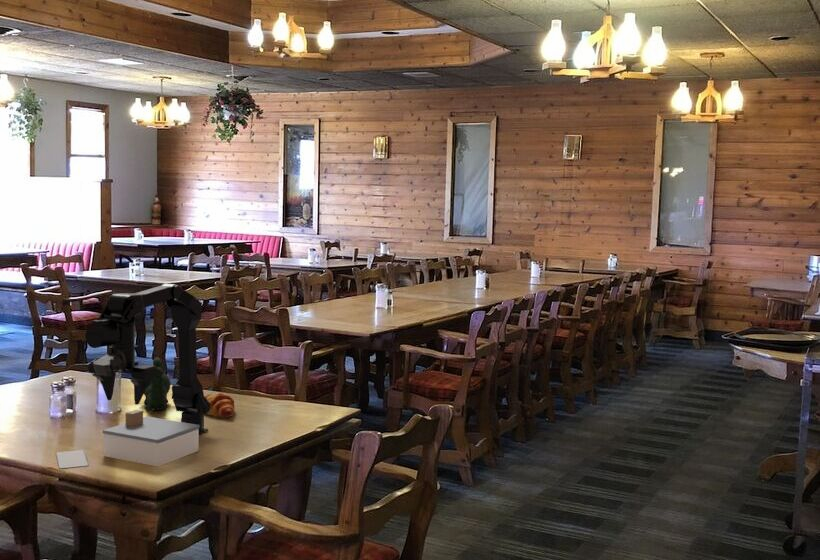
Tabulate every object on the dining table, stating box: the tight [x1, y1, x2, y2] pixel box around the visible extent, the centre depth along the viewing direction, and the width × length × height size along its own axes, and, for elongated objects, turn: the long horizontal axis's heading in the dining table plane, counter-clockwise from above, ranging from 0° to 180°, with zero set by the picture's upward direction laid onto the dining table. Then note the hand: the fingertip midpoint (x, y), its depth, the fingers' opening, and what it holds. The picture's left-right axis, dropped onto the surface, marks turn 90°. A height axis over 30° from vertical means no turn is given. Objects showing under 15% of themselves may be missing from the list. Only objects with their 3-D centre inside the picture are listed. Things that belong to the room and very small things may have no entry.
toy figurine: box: [143, 356, 171, 412], centre depth 278 cm, size 9×19×25 cm
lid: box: [102, 409, 200, 443], centre depth 228 cm, size 17×18×4 cm
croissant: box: [204, 392, 235, 418], centre depth 274 cm, size 21×10×8 cm, turn 34°
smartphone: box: [55, 449, 89, 470], centre depth 222 cm, size 7×1×15 cm
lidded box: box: [103, 429, 200, 467], centre depth 229 cm, size 16×18×6 cm
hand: (123, 402), depth 224 cm, fingers open, 9 cm apart
